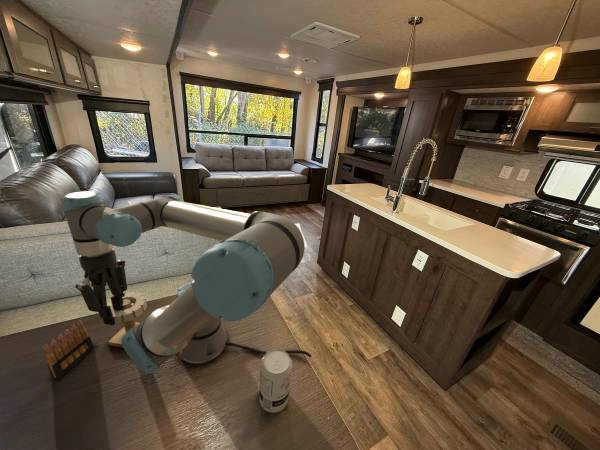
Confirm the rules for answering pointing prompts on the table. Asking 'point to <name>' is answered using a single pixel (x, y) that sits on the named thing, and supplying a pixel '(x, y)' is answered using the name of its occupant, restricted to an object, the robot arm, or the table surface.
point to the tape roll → (132, 311)
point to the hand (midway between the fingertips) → (114, 318)
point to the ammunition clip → (67, 350)
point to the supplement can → (275, 380)
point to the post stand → (127, 326)
